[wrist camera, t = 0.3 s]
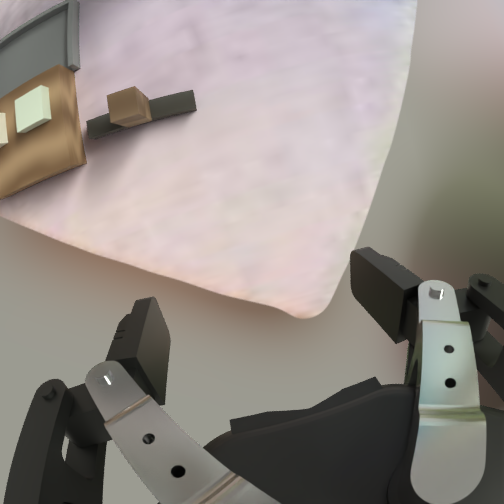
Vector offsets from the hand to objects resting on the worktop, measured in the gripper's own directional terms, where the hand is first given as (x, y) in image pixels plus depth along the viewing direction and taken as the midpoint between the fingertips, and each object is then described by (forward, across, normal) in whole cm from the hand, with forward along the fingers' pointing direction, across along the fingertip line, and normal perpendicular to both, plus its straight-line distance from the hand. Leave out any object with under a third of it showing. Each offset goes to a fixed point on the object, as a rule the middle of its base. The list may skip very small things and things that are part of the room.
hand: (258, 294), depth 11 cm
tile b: (+22, +21, -17) cm, 35 cm away
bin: (+28, +25, -29) cm, 47 cm away
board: (+28, +25, -15) cm, 40 cm away
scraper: (+28, +8, -12) cm, 31 cm away
